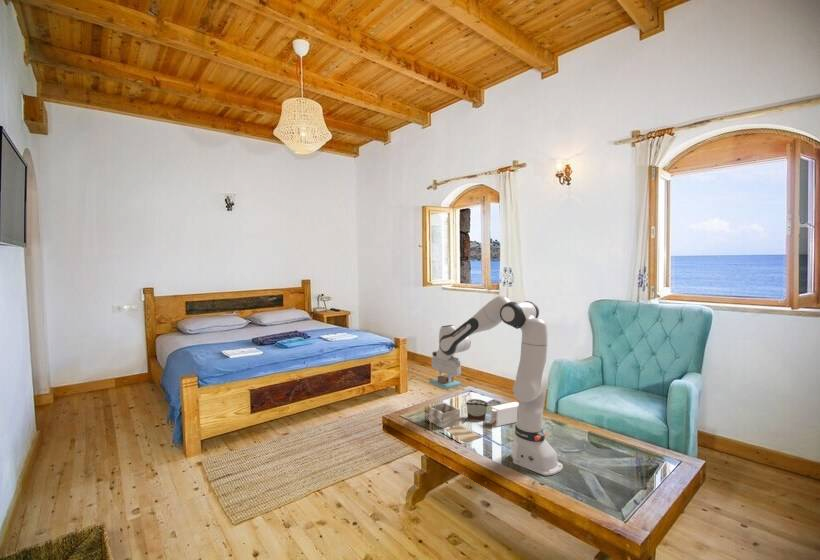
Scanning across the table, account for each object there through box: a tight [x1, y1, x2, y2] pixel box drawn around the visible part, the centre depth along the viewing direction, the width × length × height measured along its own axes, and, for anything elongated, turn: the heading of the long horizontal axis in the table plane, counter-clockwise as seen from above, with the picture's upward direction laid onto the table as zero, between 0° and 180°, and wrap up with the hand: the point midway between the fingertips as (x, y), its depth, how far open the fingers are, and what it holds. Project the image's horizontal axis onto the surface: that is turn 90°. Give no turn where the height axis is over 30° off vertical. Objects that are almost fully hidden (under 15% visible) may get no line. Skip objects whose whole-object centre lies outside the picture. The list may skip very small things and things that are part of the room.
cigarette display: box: [490, 401, 519, 428], centre depth 220 cm, size 20×6×9 cm, turn 120°
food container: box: [465, 398, 489, 422], centre depth 225 cm, size 12×6×10 cm, turn 84°
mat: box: [445, 425, 482, 443], centre depth 202 cm, size 16×14×1 cm
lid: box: [428, 374, 463, 391], centre depth 216 cm, size 13×13×5 cm
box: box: [427, 402, 461, 429], centre depth 217 cm, size 12×12×8 cm
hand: (445, 380), depth 216 cm, fingers closed on lid, 4 cm apart
